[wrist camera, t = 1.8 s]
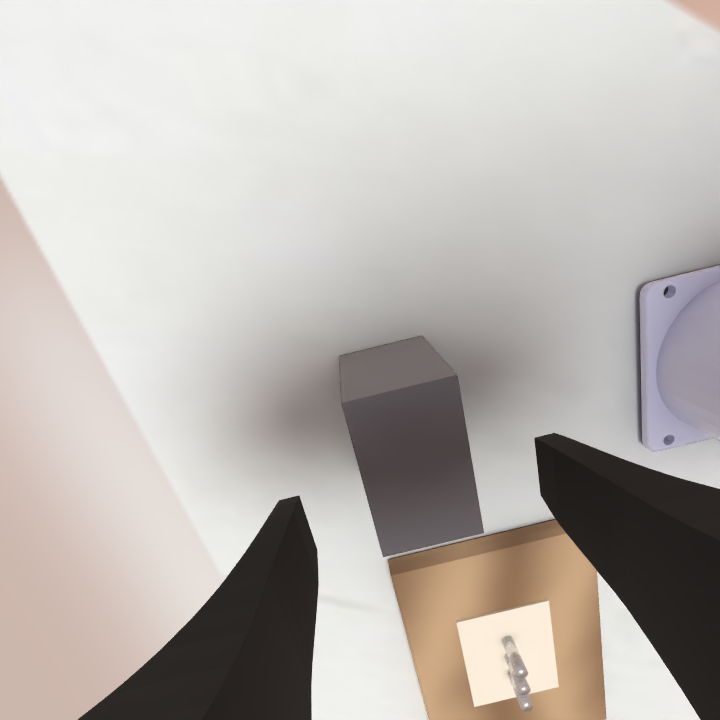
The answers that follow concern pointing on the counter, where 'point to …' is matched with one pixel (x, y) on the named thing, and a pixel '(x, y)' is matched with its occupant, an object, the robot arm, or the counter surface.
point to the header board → (504, 627)
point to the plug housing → (410, 444)
